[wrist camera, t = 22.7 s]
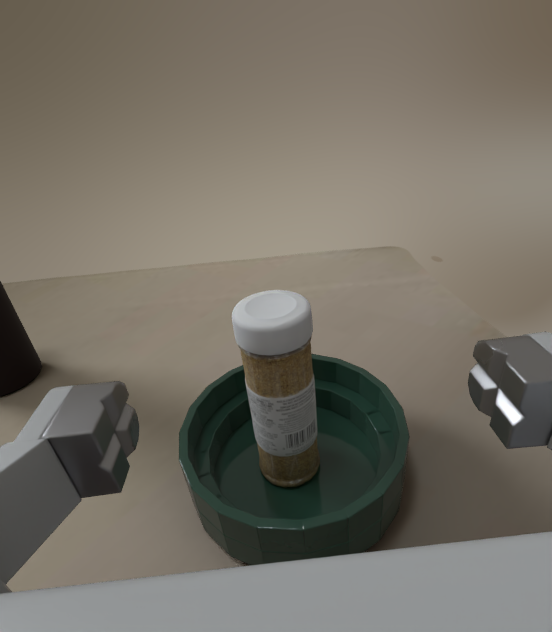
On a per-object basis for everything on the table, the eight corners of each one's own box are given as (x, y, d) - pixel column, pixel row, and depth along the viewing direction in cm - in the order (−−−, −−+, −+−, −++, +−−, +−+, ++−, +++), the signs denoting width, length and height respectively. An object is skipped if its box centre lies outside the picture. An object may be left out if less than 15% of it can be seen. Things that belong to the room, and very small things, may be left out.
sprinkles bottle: (306, 432, 31) (294, 281, 24) (330, 478, 27) (324, 314, 20) (251, 449, 30) (223, 297, 23) (268, 500, 26) (240, 334, 19)
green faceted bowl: (415, 420, 32) (421, 373, 29) (378, 627, 20) (382, 577, 17) (252, 383, 38) (245, 341, 35) (150, 525, 26) (128, 477, 23)
